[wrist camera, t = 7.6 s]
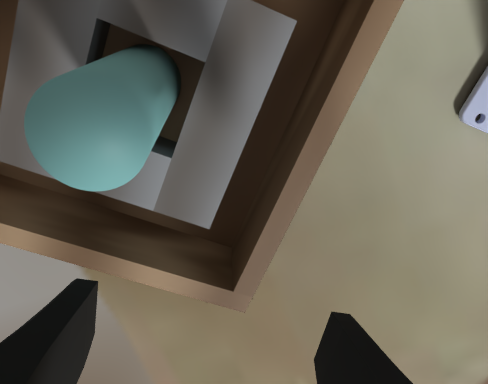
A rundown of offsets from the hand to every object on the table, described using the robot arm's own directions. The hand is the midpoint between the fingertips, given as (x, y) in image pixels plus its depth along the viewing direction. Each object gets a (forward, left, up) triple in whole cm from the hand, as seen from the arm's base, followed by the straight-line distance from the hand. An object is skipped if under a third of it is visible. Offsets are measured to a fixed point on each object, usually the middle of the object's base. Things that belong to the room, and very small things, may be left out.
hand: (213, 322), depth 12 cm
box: (+5, -4, -10) cm, 12 cm away
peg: (+5, -4, -10) cm, 12 cm away
